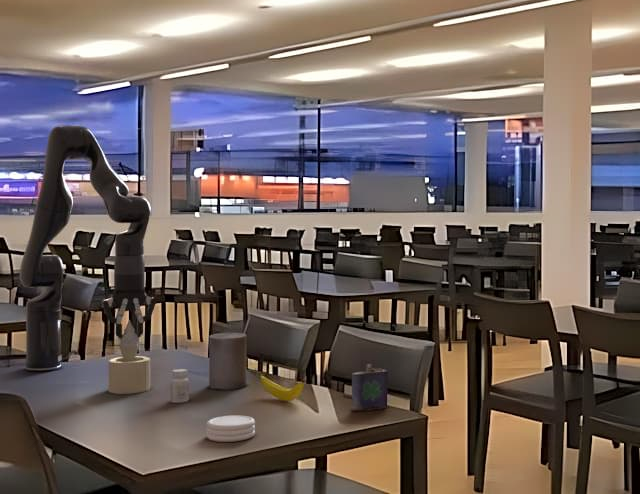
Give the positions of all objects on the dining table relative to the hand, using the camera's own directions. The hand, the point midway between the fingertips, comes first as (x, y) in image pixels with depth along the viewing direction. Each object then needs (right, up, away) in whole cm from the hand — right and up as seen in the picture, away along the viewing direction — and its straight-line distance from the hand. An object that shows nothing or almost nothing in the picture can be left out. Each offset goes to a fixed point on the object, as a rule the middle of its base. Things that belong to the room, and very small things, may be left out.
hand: (129, 337), depth 251 cm
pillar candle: (+25, -14, +5) cm, 29 cm away
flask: (+65, -14, -21) cm, 70 cm away
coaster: (+39, -15, -48) cm, 63 cm away
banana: (+42, -14, -12) cm, 46 cm away
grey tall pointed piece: (0, -10, 0) cm, 10 cm away
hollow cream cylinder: (0, -14, 0) cm, 14 cm away
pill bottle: (+17, -14, -13) cm, 26 cm away
